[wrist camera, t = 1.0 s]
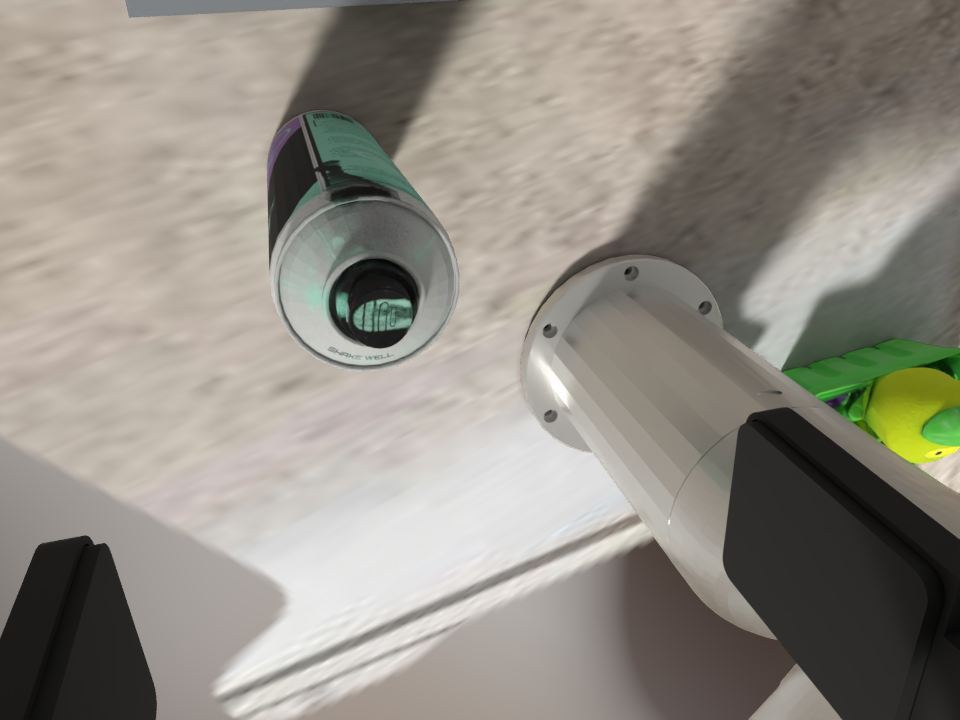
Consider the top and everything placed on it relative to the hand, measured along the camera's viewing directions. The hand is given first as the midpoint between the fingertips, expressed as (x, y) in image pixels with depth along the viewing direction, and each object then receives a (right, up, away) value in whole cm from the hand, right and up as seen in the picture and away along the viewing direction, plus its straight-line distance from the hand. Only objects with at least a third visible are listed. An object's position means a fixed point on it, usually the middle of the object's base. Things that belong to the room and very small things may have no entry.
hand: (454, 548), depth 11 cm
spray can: (-7, +12, +26) cm, 30 cm away
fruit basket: (+24, +1, +40) cm, 47 cm away
